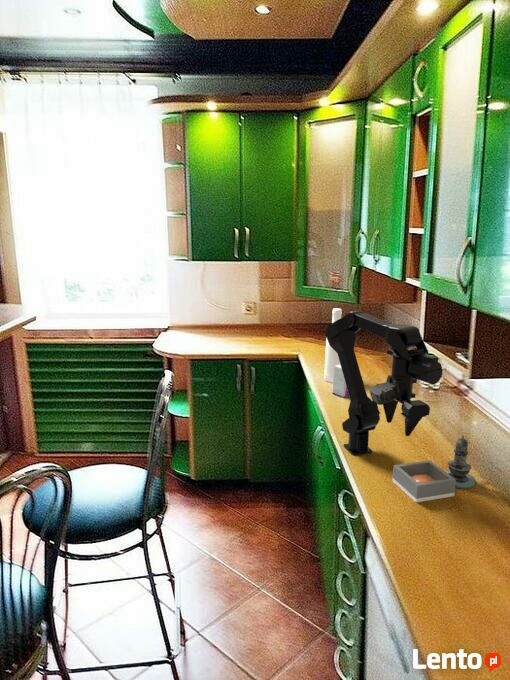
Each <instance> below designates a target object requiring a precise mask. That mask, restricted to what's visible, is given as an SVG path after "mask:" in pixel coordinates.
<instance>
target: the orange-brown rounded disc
mask: <svg viewBox="0 0 510 680" xmlns="http://www.w3.org/2000/svg"><path fill="white" fill-rule="evenodd" d="M412 478H413V479H414V480H415V481H417V482H418V483H424V482H431V481H434V479H433V478H431V477H429V476H427V475H414V476H413V477H412Z"/></svg>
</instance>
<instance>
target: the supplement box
mask: <svg viewBox="0 0 510 680" xmlns="http://www.w3.org/2000/svg"><path fill="white" fill-rule="evenodd" d="M331 393H332V395H334V396H337V397H339V398H342V399H344V398H346V397H349V393H348V389H347V386H346V382H345V379H344V375H343V372H342V368H341V364H340V365H336V366H334V380H333V383H332V392H331Z"/></svg>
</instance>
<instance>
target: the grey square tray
mask: <svg viewBox="0 0 510 680" xmlns="http://www.w3.org/2000/svg"><path fill="white" fill-rule="evenodd" d="M392 468H393V469H392V479H391V480H392V481H391V482H392V483H394V484H395V485H396V486H397V487H398V488H399V489H401V491H403V493H405V494H406V495H407V496H408V497H409V498H410V499H411V500H412V501H413V502H415V503H422V502H427V501H433V500H438V499H439V500H440V499H445V498H451V497H452V498H453V497H455V492H456V488H455V485H456V480H455V479H454V478H453V477H451V476H450V475H449V474H448V473H446V472H445V471H446V470H443V468H441V467H440V466H438V464H435V463H434V462H433V461H432V460H430V459H429V460H422V461H415V462H409V463H400V464H393V467H392ZM414 475H427V476H429V477H431V478H433V479H434V481H431V482H424V483H418V482H417V481H415V480H414V479H413V478H412V477H413V476H414Z"/></svg>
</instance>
